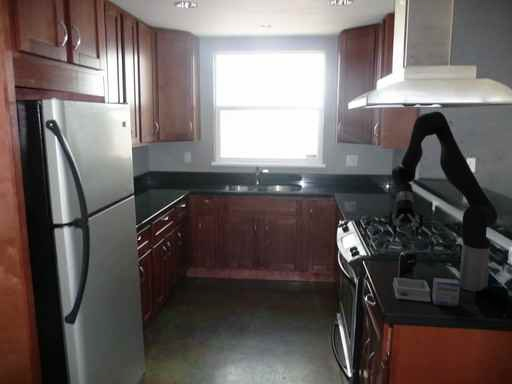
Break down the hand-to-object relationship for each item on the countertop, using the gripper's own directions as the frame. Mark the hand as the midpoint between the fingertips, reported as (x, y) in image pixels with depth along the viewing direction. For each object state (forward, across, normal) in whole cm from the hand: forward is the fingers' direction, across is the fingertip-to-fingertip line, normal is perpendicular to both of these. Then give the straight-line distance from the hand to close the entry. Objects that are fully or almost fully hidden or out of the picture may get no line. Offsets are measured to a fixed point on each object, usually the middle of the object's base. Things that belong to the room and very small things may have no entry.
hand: (405, 235), depth 176 cm
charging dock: (+28, 0, -6) cm, 29 cm away
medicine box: (+33, +11, -11) cm, 36 cm away
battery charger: (+19, 0, +3) cm, 20 cm away
